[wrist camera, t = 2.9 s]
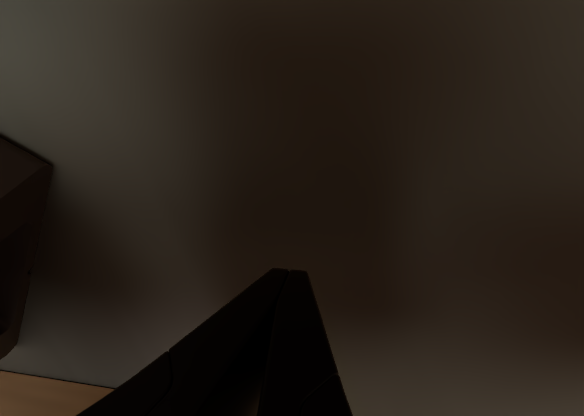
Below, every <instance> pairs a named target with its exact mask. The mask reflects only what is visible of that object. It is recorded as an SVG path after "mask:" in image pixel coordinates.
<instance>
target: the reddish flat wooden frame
mask: <svg viewBox="0 0 584 416" xmlns="http://www.w3.org/2000/svg"><path fill="white" fill-rule="evenodd" d="M113 390H115V389H110V388H104V387H97V386H91V385H85V384H79V383H73V382H66V381H60V380H54V379H48V378H42V377H36V376H29V375H23V374H17V373H11V372H5V371H0V416H76V415H77V414H79V413H80V412H82V411H83V410H85V409H86V408H88V407H89V406H91V405H92V404H94V403H95V402H97V401H98V400H100V399H102V398H103V397H104V396H106V395H107V394H109V393H110V392H112V391H113Z"/></svg>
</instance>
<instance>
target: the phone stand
mask: <svg viewBox="0 0 584 416" xmlns="http://www.w3.org/2000/svg"><path fill="white" fill-rule="evenodd" d="M52 170H53V169H52V167H51V166H50V165H48V164H47V163H45V162H43V161H41V160H39V159H38V158H36V157H34V156H32V155H31V154H29V153H27V152H25V151H23V150H22V149H20V148H18V147H16V146H14V145H13V144H11V143H9V142H7V141H5V140H4V139H2V138H0V359H2V358H3V357H5V356H6V355H7V354H8V353H9V352H10V351H11V350H12V349H13V348H14V346H15V345H16V343H17V341H18V337H19V332H20V327H21V322H22V317H23V312H24V307H25V303H26V298H27V293H28V288H29V283H30V278H31V273H30V272H28V271H29V269H30V268H31V267H32V266H33V263H34V258H35V254H36V249H37V244H38V239H39V234H40V229H41V224H42V219H43V214H44V210H45V205H46V200H47V195H48V190H49V185H50V180H51V175H52Z"/></svg>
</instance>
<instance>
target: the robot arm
mask: <svg viewBox="0 0 584 416" xmlns="http://www.w3.org/2000/svg"><path fill="white" fill-rule="evenodd" d="M76 416H353V415H352V412H351V409H350V406H349V403H348V401H347V398H346V395H345V392H344V389H343V386H342V382H341V379H340V376H339V375H338V370H337V367H336V364H335V360H334V357H333V354H332V351H331V347H330V344H329V341H328V338H327V334H326V331H325V328H324V325H323V321H322V318H321V315H320V312H319V308H318V305H317V302H316V299H315V296H314V292H313V289H312V286H311V283H310V279H309V276H308V273H307V272H306V271H302V270H290V272H289V270H288V269H280V268H272V269H271V270H269V271H268V272H267V273H266V274H264V275H263V276H262V277H260V278H259V279H258V280H257V281H255V282H254V283H253V284H252V285H250V286H249V287H248V288H246V289H245V290H244V291H243V292H241V293H240V294H239V295H238V296H236V297H235V298H234V299H232V300H231V301H230V302H229V303H227V304H226V305H225V306H223V307H222V308H221V309H220V310H218V311H217V312H216V313H215V314H213V315H212V316H211V317H209V318H208V319H207V320H206V321H204V322H203V323H202V324H201V325H199V326H198V327H197V328H195V329H194V330H193V331H192V332H190V333H189V334H188V335H187V336H185V337H184V338H183V339H181V340H180V341H179V342H178V343H176V344H175V345H174V346H173V347H171V348H170V349H169V352H165V353H163V354H162V355H161V356H160V357H158V358H157V359H156V360H154V361H153V362H152V363H151V364H149V365H148V366H147V367H145V368H144V369H143V370H141V371H140V372H139V373H137V374H136V375H135V376H133V377H132V378H131V379H129V380H128V381H126V382H125V383H123V384H122V385H120V386H119V387H118V388H116V389H115V390H113V391H112V392H110V393H109V394H107V395H106V396H104V397H103V398H102V399H100V400H98V401H97V402H95V403H94V404H92V405H91V406H89V407H88V408H86V409H85V410H83V411H82V412H80V413H79V414H77V415H76Z"/></svg>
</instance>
